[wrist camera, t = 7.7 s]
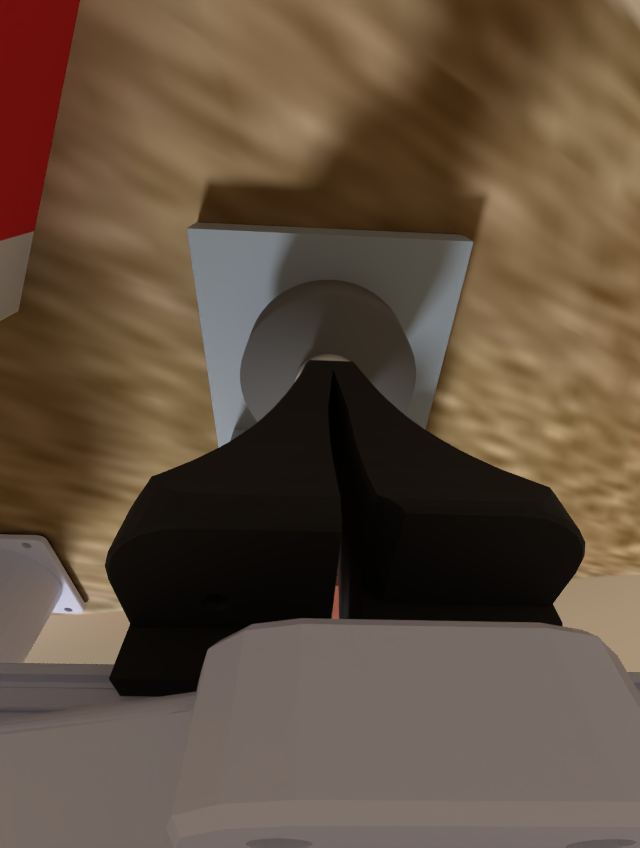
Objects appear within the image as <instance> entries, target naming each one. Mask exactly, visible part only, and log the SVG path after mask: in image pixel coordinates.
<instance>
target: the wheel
mask: <svg viewBox="0 0 640 848" xmlns="http://www.w3.org/2000/svg"><path fill="white" fill-rule="evenodd" d="M309 360H327V361H353V362H354V363H355V364H356V365H357V367H358V368H359V369H360V370H361V371H362V373H363V374H364V375H365V376H366V377H367V378H368V380H369V381H370V382H371V383H372V384H373V385H374V386H375V388H376V389H377V390H378V391H379V392H380V393H381V394H382V395H383V396H384V397H385V398H386V399H387V400H388V401H390V402H391V403H392V404H393V405H394V406H395V407H396V408H397V409H399V410H400V411H401V412H402V413H404V412H405V410H406V408H407V407H408V405H409V402H410V400H411V398H412V395H413V392H414V388H415V382H416V364H415V358H414V355H413V351H412V348H411V346H410V344H409V342H408V339H407V337H406V335H405V333H404V331H403V329H402V327H401V325H400V323H399V321H398V319H397V317H396V315H395V314H394V312H393V311H392V309H391V308H390V307H389V306H388V305H387V304H386V303H385V302H384V301H383V300H382V299H381V298H380V297H378V296H377V295H376V294H375V293H373V292H371V291H369V290H368V289H366V288H364V287H361V286H359V285H356V284H354V283H350V282H346V281H340V280H316V281H310V282H306V283H303V284H299V285H296V286H294V287H292V288H290V289H288V290H286V291H284V292H283V293H281V294H280V295H278V296H277V297H276V298H275V299H273V300H272V301H271V302H270V303H269V304H268V305H267V306H266V307H265V308H264V310H263V311H262V312H261V314H260V315H259V317H258V318H257V320H256V322H255V324H254V326H253V329H252V331H251V334H250V337H249V339H248V342H247V345H246V348H245V351H244V354H243V357H242V361H241V368H240V384H241V390H242V394H243V397H244V400H245V402H246V404H247V407H248V409H249V410H250V412H251V413H252V415H253V417H254V418H255V419H256V420H257V421H259V420H261V419H262V418H263V417H264V416H265V415H266V414H267V413H268V412H269V411H270V410H271V409H272V408H273V407H274V406H275V405H276V404H277V403H278V402H279V401H280V400H281V399H282V397H283V396H284V395H285V394H286V393H287V392H288V390H289V389H290V388H291V386H292V385H293V384H294V382H295V381H296V380H297V378H298V377H299V375H300V373H301V372H302V370H303V368H304V366H305V363H307V362H308V361H309Z"/></svg>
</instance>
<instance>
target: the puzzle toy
mask: <svg viewBox="0 0 640 848" xmlns="http://www.w3.org/2000/svg"><path fill="white" fill-rule="evenodd" d="M79 2H80V0H0V321H2V320H3V319H5V318H7V317H9V316H11V315H13V314H14V313H16V312H18V311H19V306H20V301H21V296H22V290H23V285H24V280H25V275H26V270H27V265H28V260H29V255H30V250H31V245H32V240H33V235H34V230H35V225H36V220H37V215H38V209H39V204H40V199H41V194H42V189H43V184H44V179H45V174H46V169H47V164H48V159H49V154H50V149H51V144H52V139H53V134H54V129H55V123H56V118H57V113H58V108H59V103H60V98H61V93H62V88H63V83H64V78H65V73H66V68H67V63H68V58H69V53H70V48H71V42H72V37H73V32H74V27H75V22H76V17H77V12H78V7H79Z"/></svg>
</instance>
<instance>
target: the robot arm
mask: <svg viewBox="0 0 640 848" xmlns="http://www.w3.org/2000/svg"><path fill="white" fill-rule="evenodd" d="M584 553H585V541H584V539H583V537H582V535H581V532H580V530H579V529H578V527H577V526H576V524H575V523H574V521H573V520H572V518H571V517H570V516H569V514H568V513H567V511H566V510H565V508H564V507H563V505H562V504H561V502H560V501H559V500H558V498H557V497H556V495H555V494H554V493H553V491H552V490H551V489H550V487H547V486H544V485H542V484H539V483H536V482H533V481H531V480H528V479H525V478H523V477H520V476H517V475H515V474H512V473H509V472H506V471H504V470H501V469H499V468H496V467H494V466H492V465H490V464H488V463H485V462H483V461H481V460H479V459H477V458H474V457H472V456H470V455H468V454H466V453H464V452H462V451H460V450H458V449H457V448H455V447H453V446H451V445H450V444H448V443H446V442H444V441H443V440H441V439H439V438H437V437H436V436H434V435H433V434H431V433H429V432H428V431H426V430H425V429H423V428H422V427H421V426H419V425H418V424H416V423H415V422H414V421H412V420H411V419H410V418H408V417H407V416H406V415H404V414H403V413H402V412H401V411H400V410H399V409H397V408H396V407H395V406H394V405H393V404H392V403H391V402H390V401H388V400H387V399H386V398H385V397H384V396H383V395H382V394H381V393H380V392H379V391H378V390H377V389H376V388H375V386H374V385H373V384H372V383H371V382H370V381H369V380H368V378H367V377H366V376H365V375H364V374H363V373H362V371H361V370H360V369H359V368H358V367H357V365H356V364H355V363H354V362H353V361H327V360H309V361H308V362H307V363H305V366H304V368H303V370H302V372H301V373H300V375H299V377H298V378H297V380H296V381H295V382H294V384H293V385H292V386H291V388H290V389H289V390H288V392H287V393H286V394H285V395H284V396H283V397H282V399H281V400H280V401H279V402H278V403H277V404H276V405H275V406H274V407H273V408H272V409H271V410H270V411H269V412H268V413H267V414H266V415H265V416H264V417H263V418H262V419H261V420H259V421H258V422H257V423H256V424H255V425H253V426H252V427H251V428H249V429H248V430H246V431H245V432H243V433H242V434H240V435H239V436H237V437H236V438H234V439H233V440H231V441H230V442H228V443H226V444H224V445H223V446H221V447H219V448H217V449H215V450H213V451H211V452H209V453H207V454H205V455H203V456H201V457H199V458H197V459H195V460H193V461H190V462H188V463H185V464H183V465H180V466H178V467H176V468H173V469H171V470H168V471H166V472H163V473H161V474H158V475H155V476H152V477H151V478H150V480H149V482H148V483H147V485H146V486H145V488H144V489H143V490H142V492H141V493H140V495H139V496H138V497H137V499H136V501H135V502H134V504H133V505H132V507H131V509H130V510H129V512H128V514H127V516H126V518H125V520H124V522H123V524H122V526H121V528H120V530H119V531H118V533H117V535H116V537H115V539H114V541H113V543H112V545H111V547H110V549H109V551H108V554H107V558H106V563H105V568H106V572H107V575H108V579H109V581H110V583H111V585H112V588H113V590H114V592H115V594H116V596H117V598H118V600H119V602H120V604H121V606H122V608H123V610H124V612H125V614H126V616H127V618H128V620H129V622H130V627H129V629H128V631H127V634H126V637H125V639H124V642H123V644H122V646H121V649H120V652H119V654H118V657H117V659H116V662H115V664H114V665H108V664H105V665H104V664H40V663H38V664H35V663H23V662H24V661H25V659H26V657H27V655H28V653H29V652H30V650H31V648H32V647H33V644H34V643H35V641H36V640H37V638H38V636H39V634H40V633H41V631H42V629H43V627H44V626H45V624H46V622H47V620H48V619H49V617H50V615H51V613H82V612H83V611H84V610H85V608H86V604H85V603H84V601H83V599H82V598H81V596H80V594H79V593H78V591H77V589H76V588H75V586H74V584H73V583H72V581H71V579H70V577H69V576H68V574H67V572H66V571H65V569H64V567H63V566H62V564H61V562H60V561H59V559H58V557H57V556H56V554H55V552H54V550H53V549H52V547H51V545H50V544H49V542H48V540H47V539H46V538H44V537H43V536H40V535H11V534H0V848H640V672H627V671H626V669H625V668H624V666H623V664H622V663H621V661H620V659H619V658H618V656H617V655H616V654H615V653H614V652H613V651H612V650H611V649H610V648H609V647H608V646H607V645H606V644H605V643H604V642H603V641H602V640H601V639H600V638H599V637H598V636H595V635H593V634H591V633H588V632H586V631H583V630H579V629H573V628H568V627H563V626H562V621H561V619H560V617H559V616H558V613H557V612H556V610H555V608H554V606H553V603H554V601H555V600H556V598H557V597H558V596H559V595H560V593H561V592H562V590H563V589H564V588H565V587H566V585H567V584H568V583H569V581H570V580H571V579H572V577H573V576H574V575H575V573H576V571H577V569H578V567H579V566H580V564H581V562H582V560H583V558H584ZM337 570H338V592H339V619H332V612H333V603H334V595H335V586H336V578H337Z"/></svg>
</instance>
